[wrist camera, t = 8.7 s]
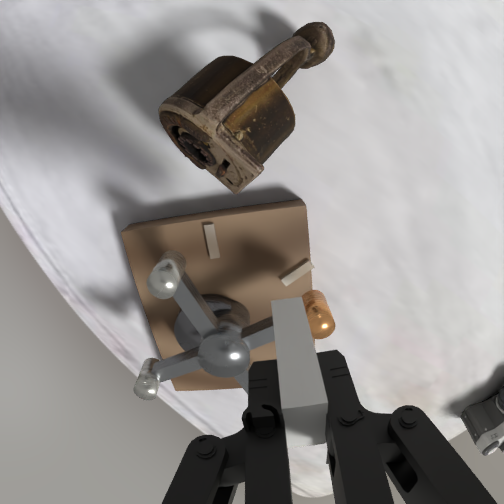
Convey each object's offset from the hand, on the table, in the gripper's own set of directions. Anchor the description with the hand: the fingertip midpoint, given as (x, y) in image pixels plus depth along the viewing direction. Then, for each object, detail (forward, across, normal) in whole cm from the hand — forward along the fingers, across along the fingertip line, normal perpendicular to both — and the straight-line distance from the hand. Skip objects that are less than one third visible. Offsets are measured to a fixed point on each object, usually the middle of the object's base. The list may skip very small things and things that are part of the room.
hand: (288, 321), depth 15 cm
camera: (+10, +35, -31) cm, 48 cm away
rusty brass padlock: (+11, 0, +12) cm, 16 cm away
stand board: (+11, -4, -5) cm, 13 cm away
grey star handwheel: (+9, -4, -5) cm, 11 cm away
